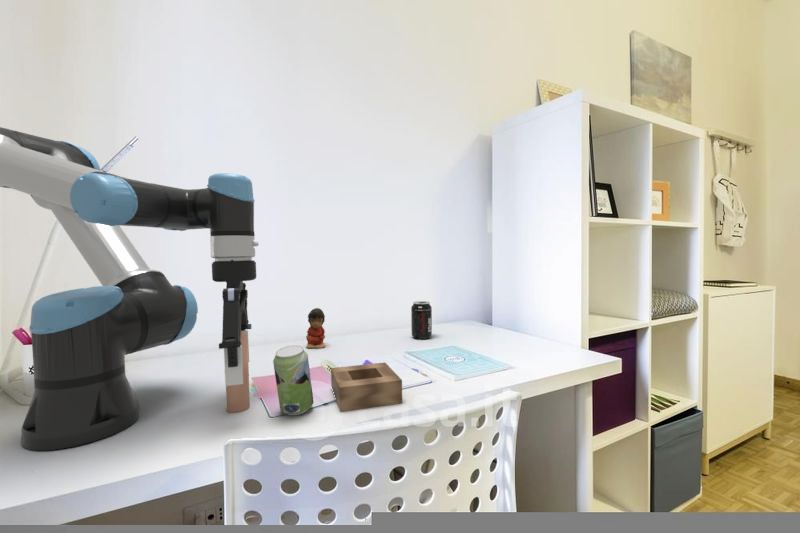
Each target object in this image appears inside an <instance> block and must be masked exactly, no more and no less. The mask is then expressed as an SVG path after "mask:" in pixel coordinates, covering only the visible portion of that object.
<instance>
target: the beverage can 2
mask: <svg viewBox="0 0 800 533" xmlns="http://www.w3.org/2000/svg"><path fill="white" fill-rule="evenodd" d="M412 303H413V304H412V305H411V308H410V311H411V313H410V314H411V318H410V319H411V320H410V321H411V322H410V324H411V328H410V330H411V337H413V338H414V339H416V340H428V339H429V338H431V337H432V335H433V333H432V332H433V324H432V322H433V319H432V318H433V317H432V315H433V314H432V313H433V310H432V305H431V301H427V300H424V301H423V300H416V301H413V302H412Z"/></svg>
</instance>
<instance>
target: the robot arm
mask: <svg viewBox="0 0 800 533" xmlns="http://www.w3.org/2000/svg"><path fill="white" fill-rule="evenodd" d="M207 181H208V182H207V183H208V184H207V186H206V187H205V188H196V189H183V188H179V187H174V186H168V185H163V184H162V185H161V184H157V183H152V182H151V183H149V182H146V181H140V180H136V179H131V178H126V177H123V176H121V175H117V174H114V173H110V172H106V171H103V170H101V166H100V164H99V162H98V160H97V159H96V157H95V156H94V155H93V153H91V152H90V151H88V150H87V149H85V148H83V147H81V146H77V145H75V144H72V143H70V142H66V141H64V140H54V139H49V138H47V137H46V138H45V137H43V136H42V137H41V136H38V135H35V134H34V135H33V134H30V133H29V134H28V133H26V132H22V131H17V130H13V129H9V128H5V127H1V126H0V188H4V189H5V188H7V189H12V190H15V191H18V192H21V193H25V194H27V195H30V196H31V198H32V200H33V201H34V202H35V203H36V204H37V205H38V206H39V207H41V208H43V209H45V210H49V211H51V212H52V214H53V215H54V216H55V218H56V219H57V221H58V222H59V224H60V225H61V227H62V228H63V230H64V231H65V232H66V234H67V236H68V237H69V238H70V240H71V241H72V243H73V245H75V247H76V249H77V250H78V252H79V253H80V255H81V256H82V258H83V259H84V261H85V262H86V263H87V265H88V267H89V268H90V269H91V271H92V272H93V274H94V276H96V278H97V280H98V281H99V283H100V284H101V285H100V286H90V287H86V288H84V287H83V288H76V289H70V290H64V291H59V292H55V293H52V294H48V295H46V296H43V297H41V298H39V299H38V300H35V302H34V303H33V305H32V307H31V312H30V315H31V316H30V325H29V330H30V333H31V348H32V363H33V364H32V365H33V367H32V368H33V377H34V378H33V382H34V383H33V384H34V394H33V396H32V398H31V402H30V404H29V407H28V410H27V412H26V415H25V418H24V420H23V424H22V426H21V430H20V433H21V434H20V435H21V445H22V447H23V448H25V449H28V450H32V451H49V450H50V451H51V450H62V449H66V448H71V447H77V446H81V445H85V444H89V443H92V442H95V441H100V440H102V439H104V438H108V437H110V436H113V435H114V434H115V435H116V434H117V433H119V432H122V431H123V430H126V429H127V428H129V427H130V426H131V425H133V424H134V423H135V422H136V421H137V420H138V419H139V417H140V405H139V400H138V398H137V397H136V395H135V392H134V391H133V388H132V386H131V385H130V382H129V380H128V378H127V374H126V365H125V364H126V360H125V358H126V356H127V355H130V354H133V353H138V352H141V351H145V350H148V349H152V348H153V349H154V348H157V347H159V346H166V345H170V344H172V343H174V342H176V341H179V340H181V339H183V338H186V337H187V336H188V335H189V334H190V333H191V332H192V330H193V329H194V328H195V325H196V323H197V320H198V317H197V314H199V312H198V310H199V309H198V302H197V299H196V297H195V295H194V293H193V292H192V291H191V290H190V289H189V288H187V287H186V286H182V285H179V284H175V285H172V284H171V283H170V281H169V280H168V279H167V277H166V275H165V274H164V273H163V272H162V271H160V270H155V269H151V268H150V267H149V266H148V264H147V262H146V261H145V259H143V257H142V255H140V253H139V250H137V249H136V247H135V246H134V244H133V243H132V242H131V240H130V239H129V237H128V236H127V235H126V233H125V232H124V230H123V229H122V227H121V226H126V227H127V226H128V227H144V228H157V229H158V228H159V229H164V230H168V231H180V232H183V231H187V230H188V231H189V230H202V229H203V230H204V229H209V231H210V233H209V234H210V237H209V238H210V257H211V258H212V259H214V261H212V263H211V275H212V277H211V278H212V279H211V280H212V281H214V282H216V283H226V288H223V290H222V292H221V293H222V301H223V305H222V332H221V333H222V335H221V336H222V337H221V338H222V340H221V343H220V342H219V343H218V349H223V355H224V356H223V358H224V378H225V379H224V381H225V387H226V386H231V385H239V384H243V364H242V345H241V342H240V339H241V332H244V333H248V334H249V330H252V323H249V316H248V294H249V292H248V289H246V287H247V284H246V283H245V282H248V281H254V280H256V279H257V263H256V262H257V261H255V260H253V258H255V257H256V248H255V247H259V241H257V240H256V241H255V238H256V237H255V227H254V226H255V199H254V192H253V191H254V190H253V183H252V180H251V179H250V178H249V177H247V176H245V175H242V174H235V173H214V174H211V175H210V176H209V177H208V180H207ZM249 344H250V343H249V341H248V363H250V351H249V350H250V348H249V346H250V345H249ZM240 345H241V346H240Z"/></svg>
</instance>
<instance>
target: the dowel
mask: <svg viewBox="0 0 800 533" xmlns="http://www.w3.org/2000/svg"><path fill="white" fill-rule="evenodd" d="M240 342H241V345H242V364H243V384H239V385H231V386H226V385H225V396H226V397H225V400H226V403H225V404H226V412H228V413H235V414H236V413H241V412H244V411H247V410H249V408H250V403H251V402H250V398H251V397H250V373H249V371H250V370H249V368H250V367H249V363H250V362H248V342H249V332H248V333H244V332H241V339H240ZM241 345H240V346H241Z"/></svg>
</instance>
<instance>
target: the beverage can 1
mask: <svg viewBox="0 0 800 533" xmlns="http://www.w3.org/2000/svg"><path fill="white" fill-rule="evenodd" d="M272 361H273V362H272V363H273V369H274V376H275V382H276V389H277V396H278V403H279V404H278V405H279V409H280V412H282V413H283V414H285V415H288V416H298V415H302V414H304V413H306V412H307V411H308V410H309V409H311V407H312V406H313V405H314V396H313V394H314V393H313V386H312V379H311V378H312V377H311V371H310V362H309V356H308V353H307V352H306V350H305V348H304V347H303V346H301V345H288V346H285V347H281V348H279V349H278V350H277V351H275V355H274V357H273V360H272Z"/></svg>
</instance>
